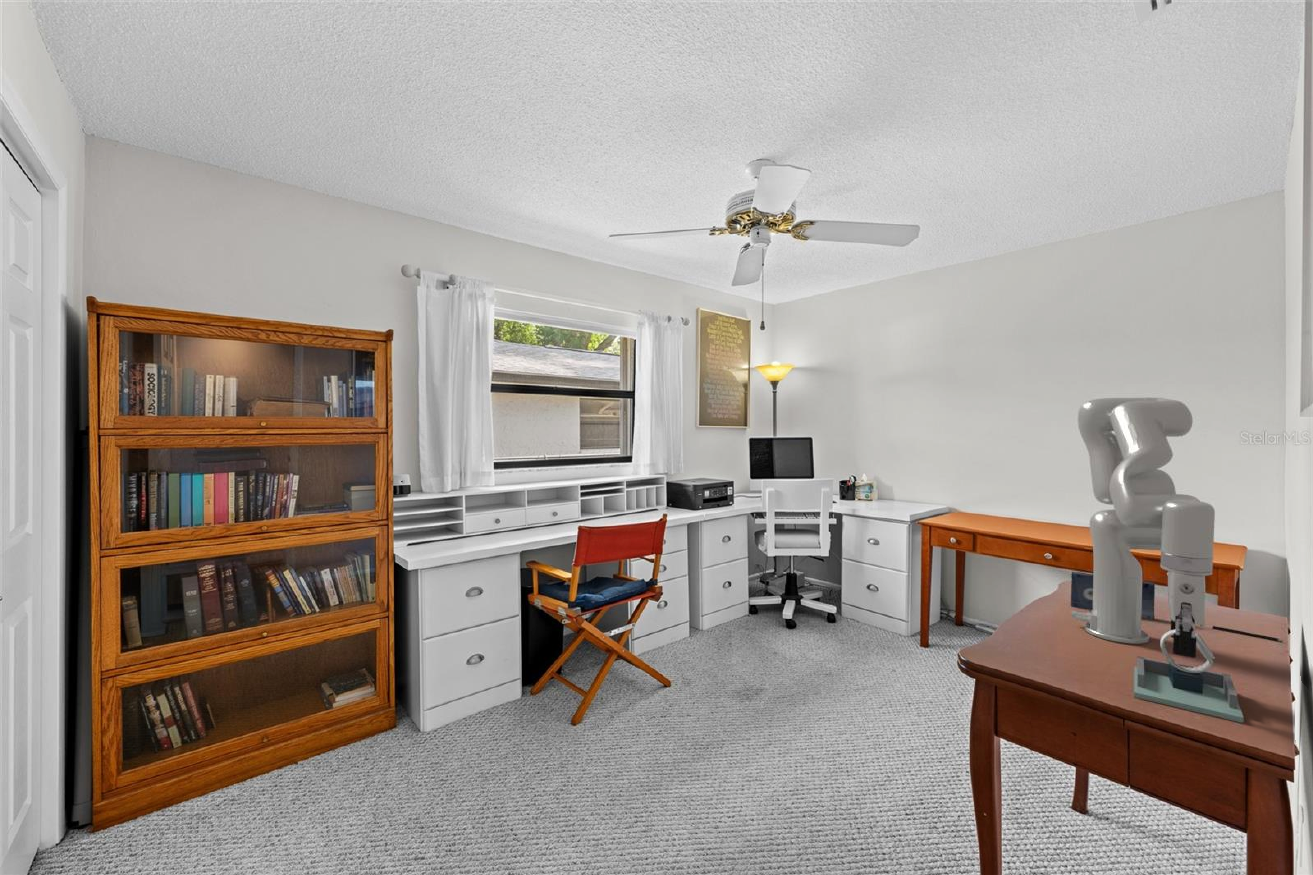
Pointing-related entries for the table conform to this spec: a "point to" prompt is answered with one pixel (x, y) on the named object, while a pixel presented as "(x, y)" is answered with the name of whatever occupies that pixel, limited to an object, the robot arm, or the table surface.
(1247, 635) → the black pen
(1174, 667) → the watch
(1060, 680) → the table surface
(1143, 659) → the shallow grey tray
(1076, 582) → the vhs cassette tape
